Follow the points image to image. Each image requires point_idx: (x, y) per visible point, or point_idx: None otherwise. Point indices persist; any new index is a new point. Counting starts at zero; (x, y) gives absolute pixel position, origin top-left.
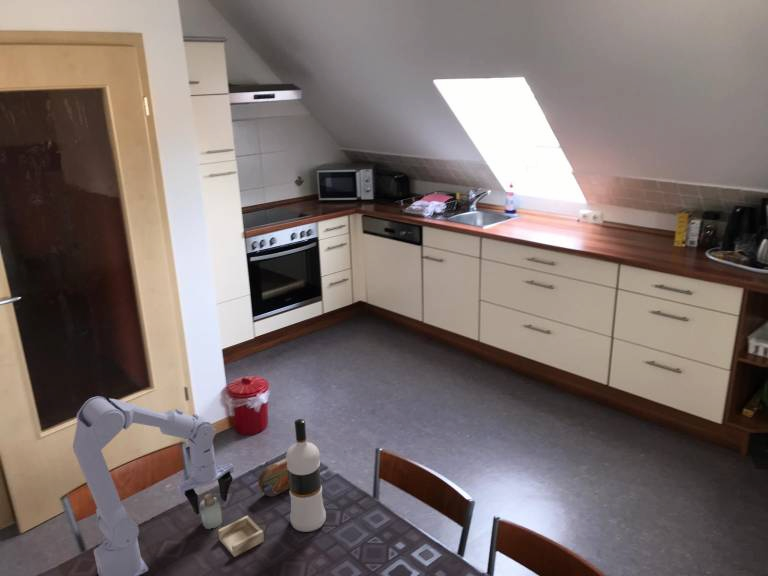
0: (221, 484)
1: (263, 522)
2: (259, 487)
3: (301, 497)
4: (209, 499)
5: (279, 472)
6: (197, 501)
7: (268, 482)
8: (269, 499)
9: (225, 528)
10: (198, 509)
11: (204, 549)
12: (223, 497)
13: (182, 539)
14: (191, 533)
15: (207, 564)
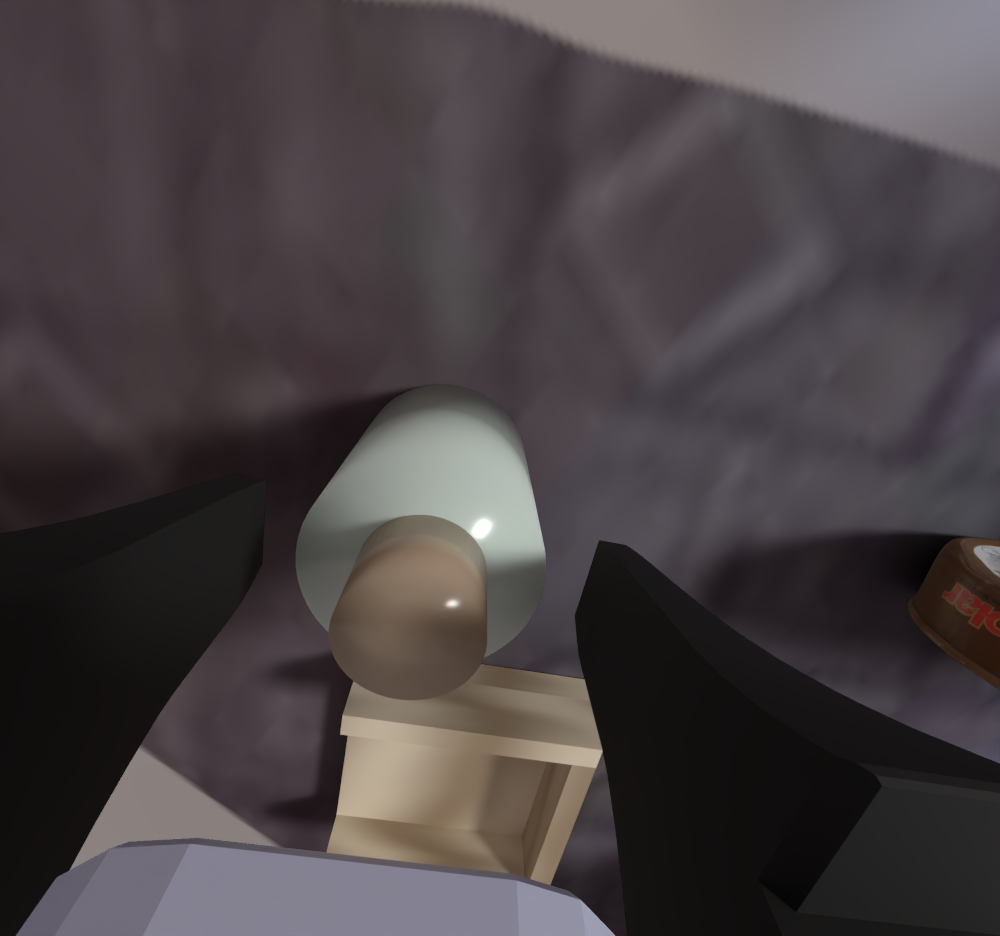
0: (658, 792)
1: None
2: (966, 585)
3: None
4: (380, 688)
5: None
6: (114, 779)
7: None
8: (883, 598)
9: (393, 741)
10: (216, 626)
11: (238, 642)
12: (588, 638)
13: (153, 437)
14: (245, 436)
15: (190, 744)
